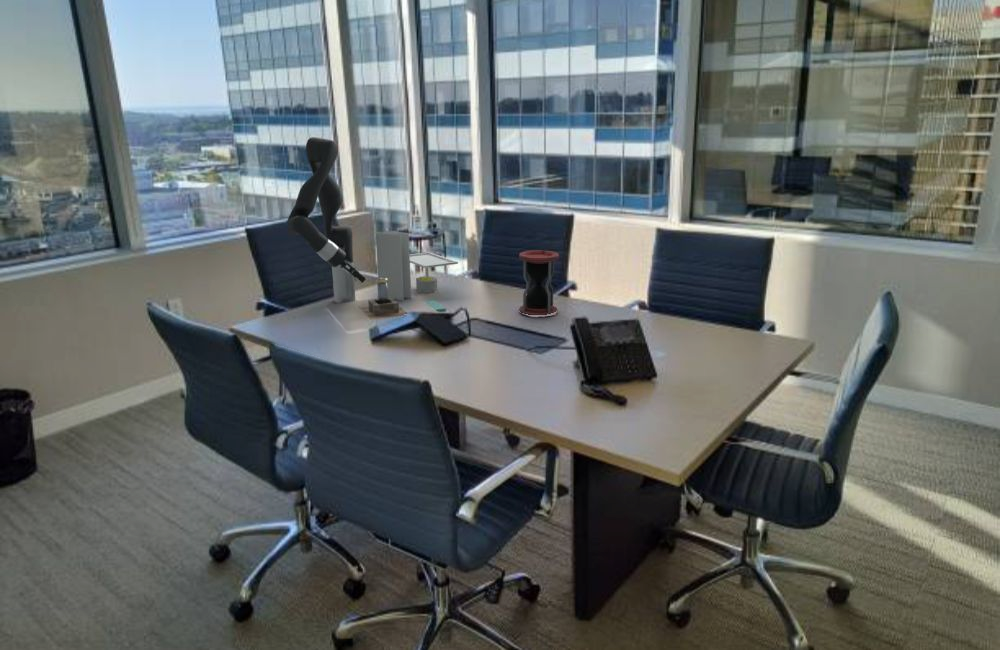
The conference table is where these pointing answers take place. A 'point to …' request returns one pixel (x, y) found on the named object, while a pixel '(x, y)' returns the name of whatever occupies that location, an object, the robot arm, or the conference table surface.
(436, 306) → the rubber mat
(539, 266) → the hourglass
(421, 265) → the solar panel model
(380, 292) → the steel peg
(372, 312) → the eye block
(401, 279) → the tall grey pillar
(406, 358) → the conference table surface
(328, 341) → the conference table surface
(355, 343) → the conference table surface
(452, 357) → the conference table surface
